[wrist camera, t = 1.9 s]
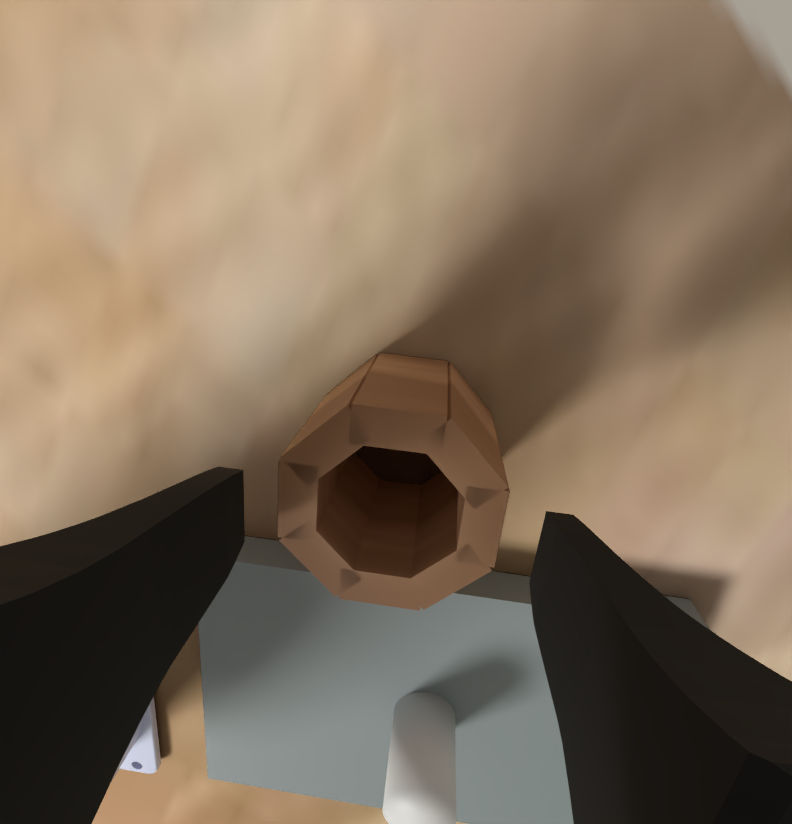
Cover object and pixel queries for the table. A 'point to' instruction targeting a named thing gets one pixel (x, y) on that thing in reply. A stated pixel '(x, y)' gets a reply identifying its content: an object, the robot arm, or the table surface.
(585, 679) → the robot arm
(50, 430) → the table surface
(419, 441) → the tube
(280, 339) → the table surface
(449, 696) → the post board
